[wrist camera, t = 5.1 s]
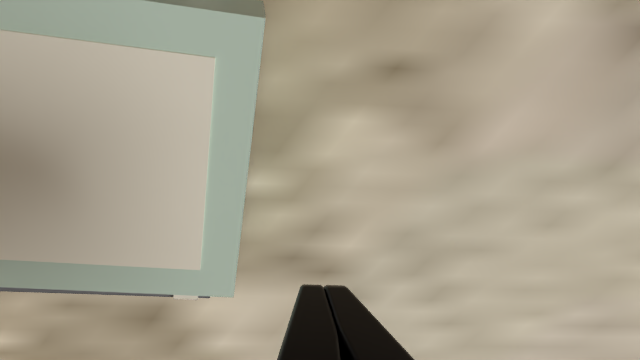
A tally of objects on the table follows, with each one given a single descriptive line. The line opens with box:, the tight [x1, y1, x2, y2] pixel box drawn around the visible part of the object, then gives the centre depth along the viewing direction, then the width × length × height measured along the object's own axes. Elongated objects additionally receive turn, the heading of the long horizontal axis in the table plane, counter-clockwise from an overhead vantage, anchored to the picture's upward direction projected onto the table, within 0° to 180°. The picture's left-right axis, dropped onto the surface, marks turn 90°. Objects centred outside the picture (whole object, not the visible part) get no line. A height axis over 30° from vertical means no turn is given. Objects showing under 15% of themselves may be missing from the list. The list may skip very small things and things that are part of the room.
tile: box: [0, 0, 265, 297], centre depth 13 cm, size 8×2×9 cm
